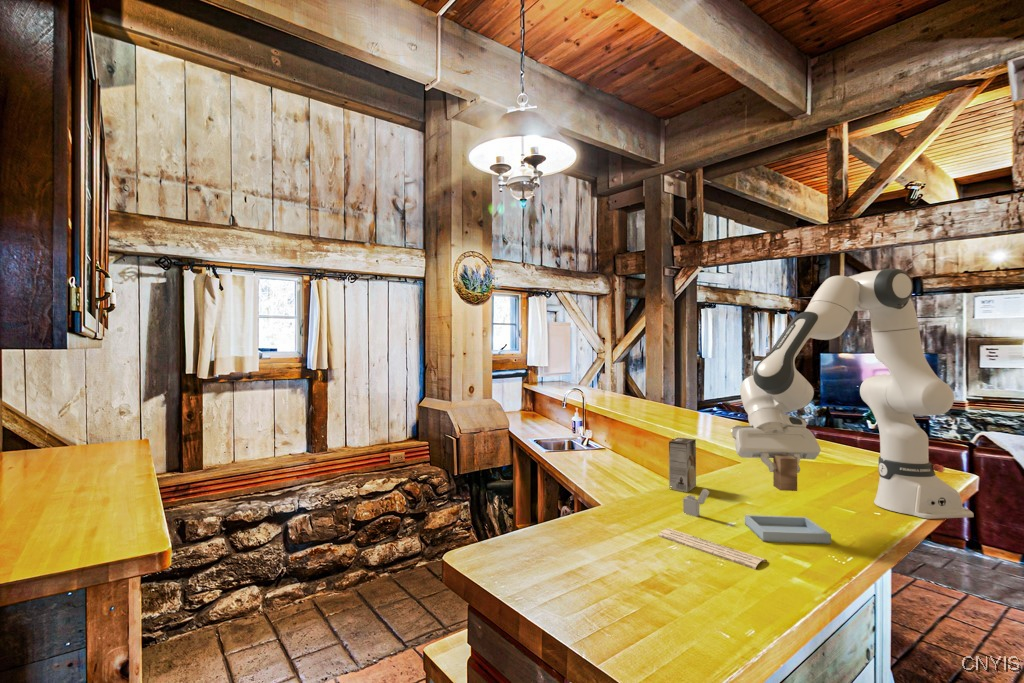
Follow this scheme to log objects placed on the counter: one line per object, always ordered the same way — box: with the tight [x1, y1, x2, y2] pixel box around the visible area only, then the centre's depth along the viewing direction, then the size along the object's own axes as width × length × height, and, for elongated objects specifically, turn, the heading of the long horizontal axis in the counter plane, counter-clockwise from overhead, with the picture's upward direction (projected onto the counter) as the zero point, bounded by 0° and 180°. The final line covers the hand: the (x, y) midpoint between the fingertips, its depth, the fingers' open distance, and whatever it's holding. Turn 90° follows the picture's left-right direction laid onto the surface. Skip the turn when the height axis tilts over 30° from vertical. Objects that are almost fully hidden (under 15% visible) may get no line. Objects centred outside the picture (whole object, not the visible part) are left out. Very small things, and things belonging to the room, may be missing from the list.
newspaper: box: [657, 527, 768, 570], centre depth 113 cm, size 24×7×2 cm, turn 41°
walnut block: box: [772, 455, 798, 492], centre depth 122 cm, size 4×4×8 cm
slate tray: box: [744, 514, 832, 545], centre depth 122 cm, size 16×12×2 cm
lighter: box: [682, 488, 710, 518], centre depth 134 cm, size 7×2×8 cm, turn 41°
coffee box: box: [668, 437, 697, 493], centre depth 161 cm, size 9×6×16 cm
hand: (785, 471), depth 122 cm, fingers closed on walnut block, 4 cm apart
